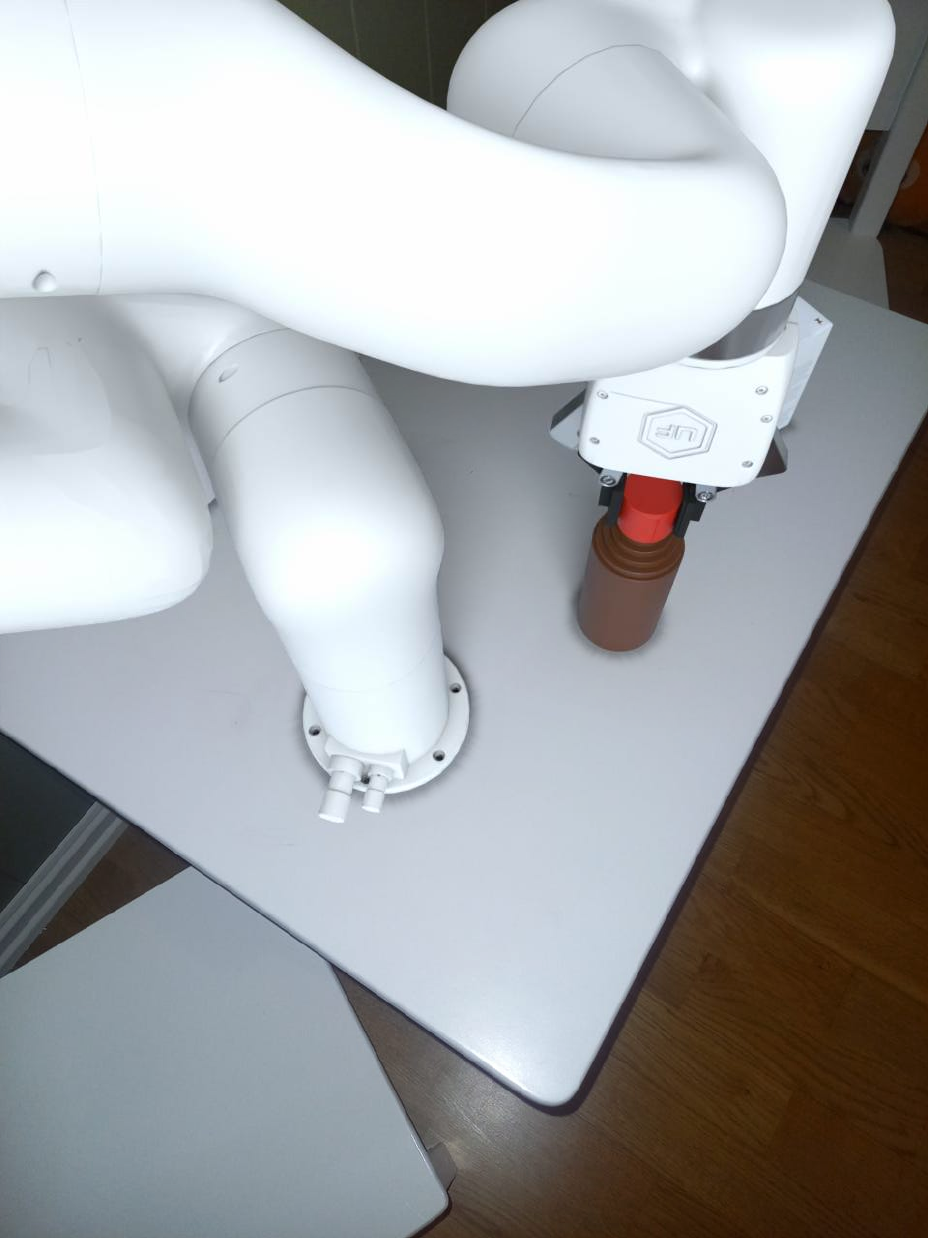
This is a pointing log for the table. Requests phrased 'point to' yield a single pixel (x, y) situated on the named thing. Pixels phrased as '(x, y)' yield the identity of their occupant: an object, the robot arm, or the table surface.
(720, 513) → the table surface
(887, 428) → the table surface
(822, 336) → the cosmetic box
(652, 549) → the sauce bottle
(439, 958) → the table surface
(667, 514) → the cap
